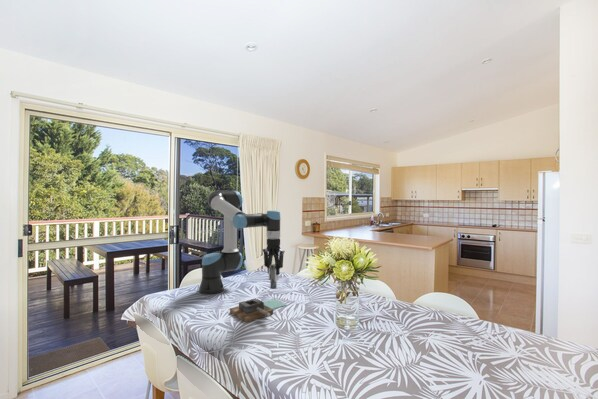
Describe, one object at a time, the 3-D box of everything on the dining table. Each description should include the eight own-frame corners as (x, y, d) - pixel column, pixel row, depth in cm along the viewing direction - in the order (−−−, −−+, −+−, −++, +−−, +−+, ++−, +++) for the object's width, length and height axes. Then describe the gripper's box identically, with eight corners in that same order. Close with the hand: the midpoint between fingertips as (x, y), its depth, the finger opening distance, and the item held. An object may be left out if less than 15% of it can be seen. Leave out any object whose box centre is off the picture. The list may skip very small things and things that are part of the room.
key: (274, 286, 170) (274, 263, 170) (278, 287, 168) (278, 263, 168) (267, 288, 164) (267, 265, 164) (272, 289, 163) (272, 265, 163)
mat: (259, 303, 168) (259, 302, 168) (274, 299, 174) (274, 298, 174) (272, 309, 159) (272, 308, 159) (286, 305, 165) (286, 304, 165)
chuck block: (230, 312, 155) (230, 301, 155) (256, 305, 165) (256, 295, 165) (254, 327, 136) (254, 316, 136) (282, 318, 147) (282, 307, 147)
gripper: (257, 237, 167) (257, 279, 167) (282, 240, 159) (282, 283, 159) (265, 236, 173) (265, 276, 174) (289, 238, 165) (289, 280, 165)
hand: (273, 279), depth 166 cm, fingers closed on key, 3 cm apart
